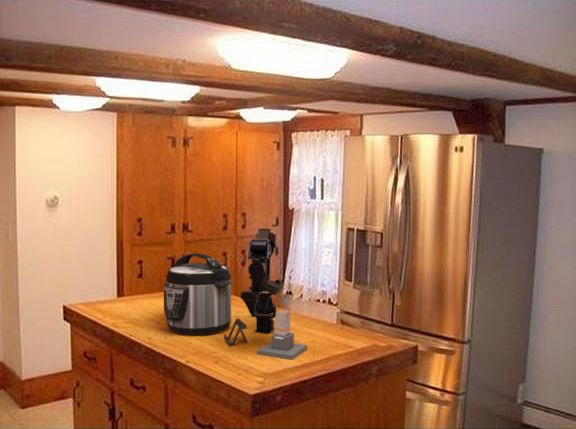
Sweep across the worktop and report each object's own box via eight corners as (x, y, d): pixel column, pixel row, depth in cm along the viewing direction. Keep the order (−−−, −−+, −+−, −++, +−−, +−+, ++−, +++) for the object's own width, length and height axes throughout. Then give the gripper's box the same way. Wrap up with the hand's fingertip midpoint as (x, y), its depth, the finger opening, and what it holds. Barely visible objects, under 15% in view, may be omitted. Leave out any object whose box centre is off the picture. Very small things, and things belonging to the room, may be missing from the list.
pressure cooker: (160, 321, 258) (160, 249, 255) (223, 317, 266) (224, 248, 264) (167, 340, 229) (167, 260, 227) (237, 335, 238) (238, 258, 235)
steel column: (275, 337, 216) (275, 312, 215) (279, 334, 220) (280, 310, 219) (285, 339, 214) (285, 313, 214) (289, 336, 218) (290, 311, 217)
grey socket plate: (257, 354, 214) (257, 336, 213) (273, 344, 227) (273, 327, 226) (292, 359, 208) (292, 341, 208) (306, 349, 221) (307, 332, 221)
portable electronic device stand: (223, 340, 231) (223, 319, 231) (242, 338, 234) (243, 317, 233) (229, 346, 223) (229, 324, 222) (249, 344, 226) (249, 323, 225)
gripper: (267, 279, 207) (267, 322, 209) (288, 271, 225) (288, 311, 226) (240, 276, 212) (239, 318, 213) (262, 268, 229) (262, 308, 230)
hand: (258, 314), depth 220 cm, fingers open, 9 cm apart
